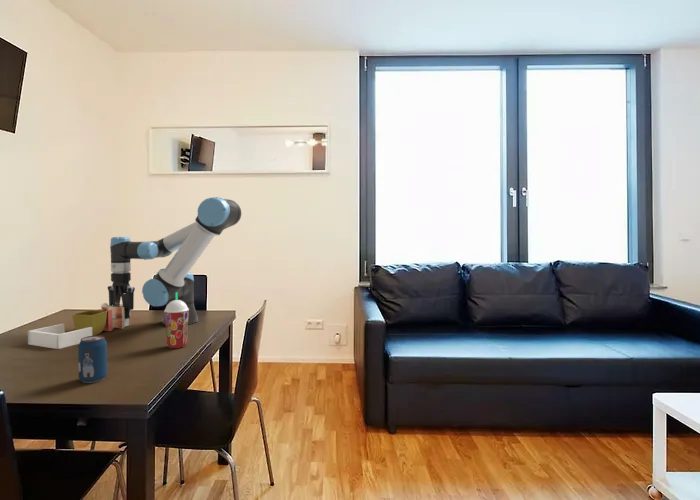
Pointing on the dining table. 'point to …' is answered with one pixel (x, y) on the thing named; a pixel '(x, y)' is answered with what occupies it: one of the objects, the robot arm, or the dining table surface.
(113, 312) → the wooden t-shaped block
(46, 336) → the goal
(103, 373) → the soda can
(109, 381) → the dining table surface
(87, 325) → the flower pot
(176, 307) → the smoothie
